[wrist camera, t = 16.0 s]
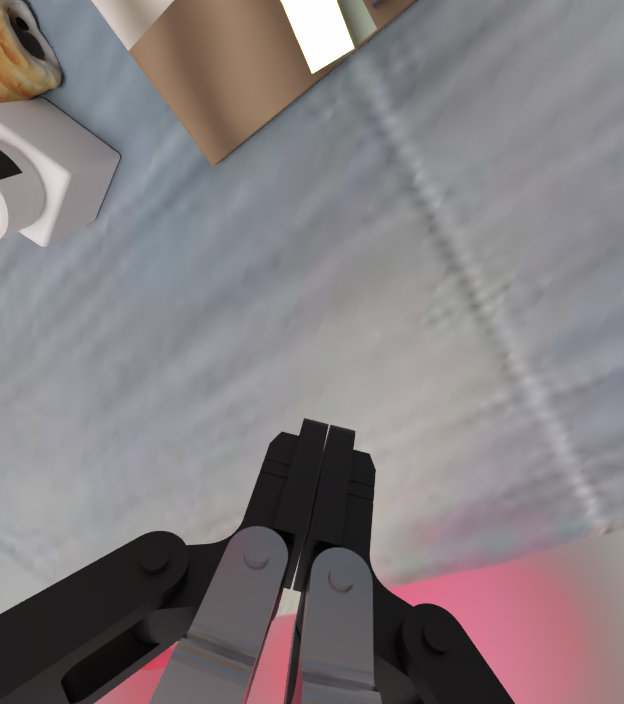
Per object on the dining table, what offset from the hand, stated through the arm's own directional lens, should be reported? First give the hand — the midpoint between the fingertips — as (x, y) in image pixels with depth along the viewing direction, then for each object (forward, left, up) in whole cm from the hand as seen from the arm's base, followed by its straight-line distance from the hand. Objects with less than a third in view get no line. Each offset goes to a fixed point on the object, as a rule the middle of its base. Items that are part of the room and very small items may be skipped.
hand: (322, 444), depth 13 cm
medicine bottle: (+20, -16, -27) cm, 38 cm away
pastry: (+18, -24, -28) cm, 41 cm away
